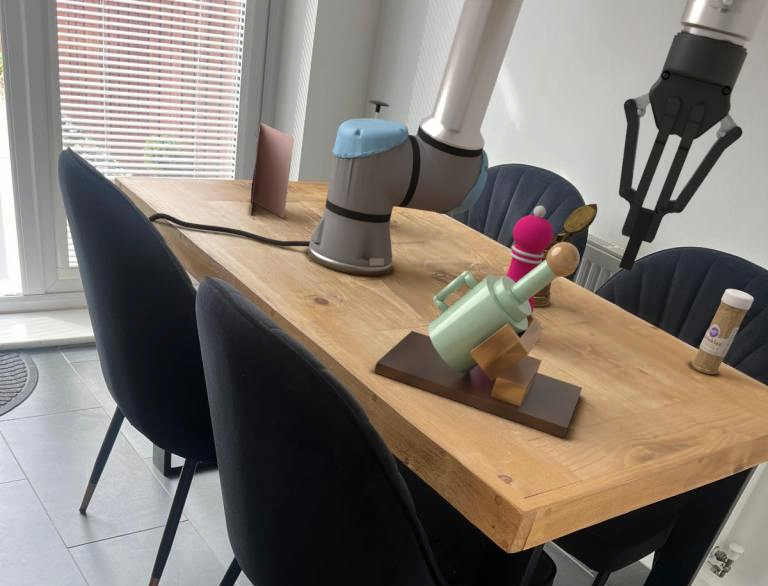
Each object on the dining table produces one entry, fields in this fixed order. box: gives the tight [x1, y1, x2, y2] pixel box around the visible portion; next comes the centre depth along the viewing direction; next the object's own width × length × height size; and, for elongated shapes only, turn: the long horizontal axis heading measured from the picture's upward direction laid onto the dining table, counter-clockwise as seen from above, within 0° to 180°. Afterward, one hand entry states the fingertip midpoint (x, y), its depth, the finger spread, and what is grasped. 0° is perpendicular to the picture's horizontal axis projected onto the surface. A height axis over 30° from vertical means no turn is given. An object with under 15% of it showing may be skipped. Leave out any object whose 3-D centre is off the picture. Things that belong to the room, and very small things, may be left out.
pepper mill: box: [505, 205, 554, 314], centre depth 118 cm, size 7×7×20 cm
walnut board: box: [374, 330, 583, 439], centre depth 104 cm, size 26×15×2 cm, turn 69°
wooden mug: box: [533, 203, 598, 307], centre depth 138 cm, size 9×14×18 cm, turn 111°
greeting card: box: [250, 122, 295, 219], centre depth 151 cm, size 11×7×15 cm, turn 6°
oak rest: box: [470, 312, 545, 407], centre depth 100 cm, size 8×11×10 cm
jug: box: [427, 242, 581, 374], centre depth 98 cm, size 16×8×20 cm, turn 69°
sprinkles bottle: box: [691, 288, 755, 375], centre depth 125 cm, size 5×5×13 cm
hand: (625, 266), depth 90 cm, fingers closed
